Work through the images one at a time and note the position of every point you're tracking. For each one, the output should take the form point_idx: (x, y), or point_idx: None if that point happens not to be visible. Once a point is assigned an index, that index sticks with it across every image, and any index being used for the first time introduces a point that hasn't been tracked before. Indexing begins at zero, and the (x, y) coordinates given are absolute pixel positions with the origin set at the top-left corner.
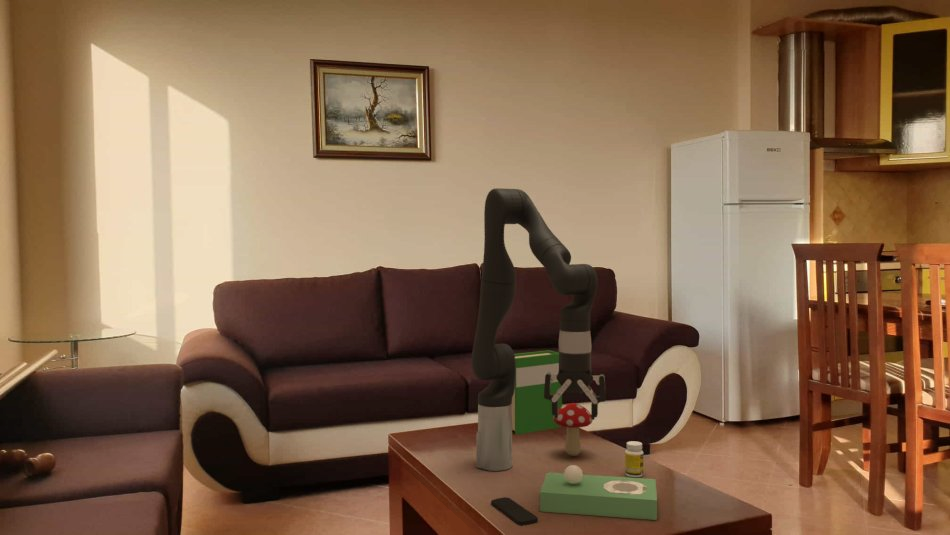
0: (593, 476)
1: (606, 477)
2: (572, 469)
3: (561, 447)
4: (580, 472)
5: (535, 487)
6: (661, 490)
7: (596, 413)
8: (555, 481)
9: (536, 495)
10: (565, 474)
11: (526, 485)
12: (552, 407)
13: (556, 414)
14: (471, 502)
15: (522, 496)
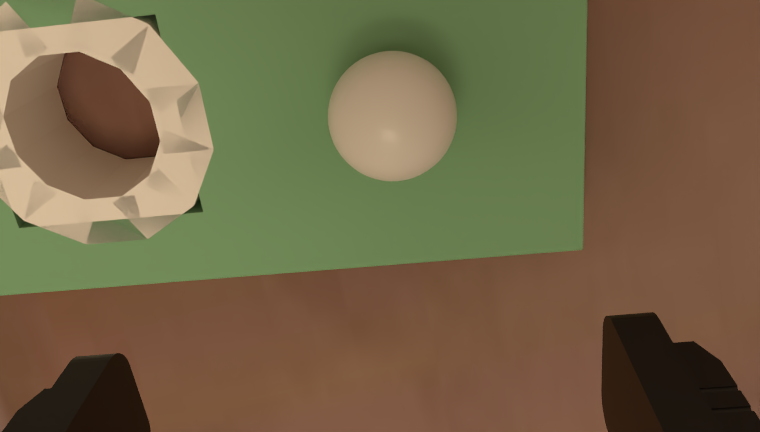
0: (303, 253)
1: (228, 256)
2: (389, 89)
3: None
4: (335, 102)
5: (626, 227)
6: (31, 341)
7: (16, 426)
8: (511, 109)
9: (609, 118)
10: (440, 76)
11: (677, 242)
12: (751, 427)
13: (636, 336)
14: None
15: (688, 81)
